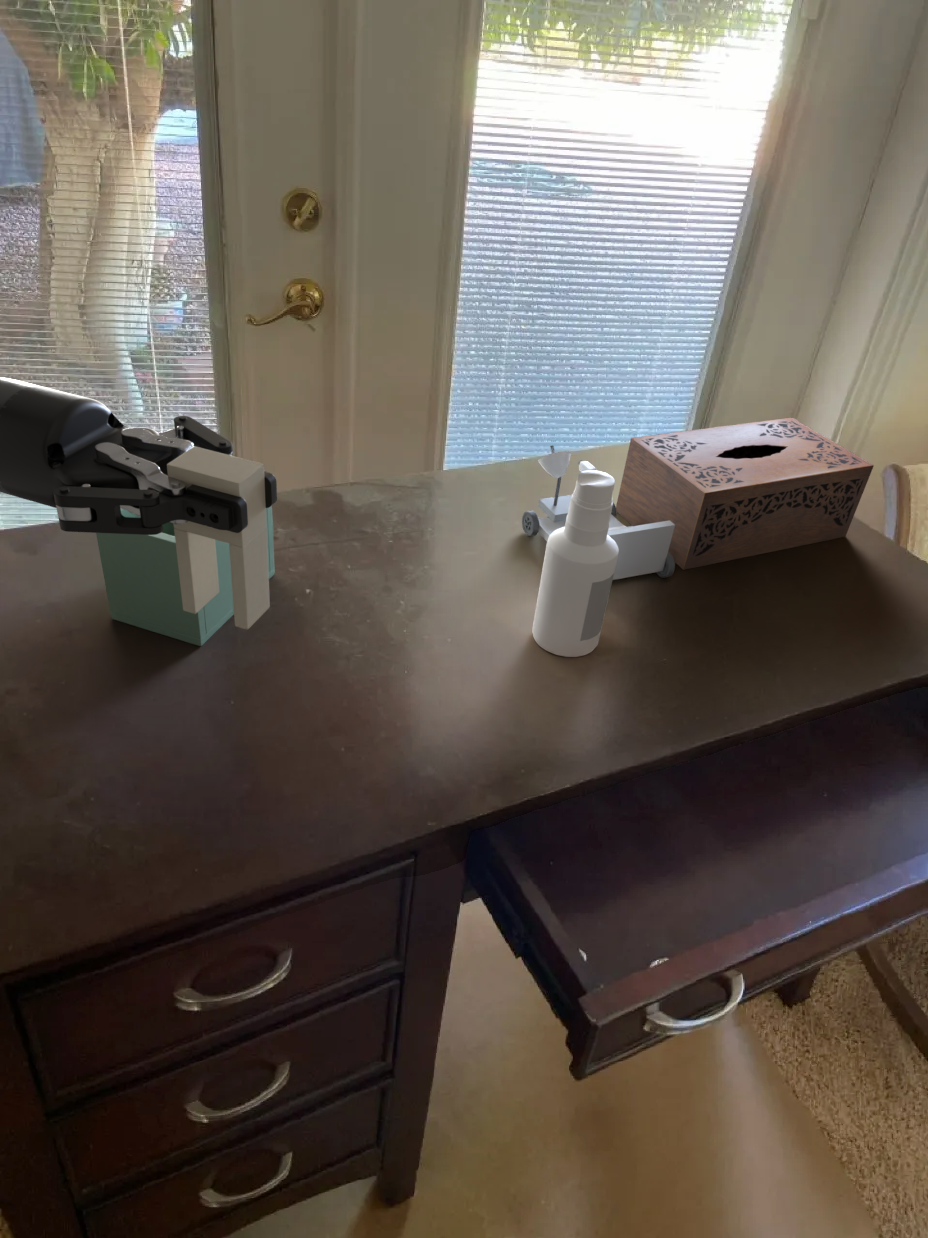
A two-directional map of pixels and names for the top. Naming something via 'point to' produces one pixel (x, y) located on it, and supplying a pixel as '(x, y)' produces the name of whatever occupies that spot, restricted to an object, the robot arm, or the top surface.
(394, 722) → the top surface
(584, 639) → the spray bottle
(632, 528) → the toy car
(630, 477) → the tissue box cover
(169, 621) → the bin
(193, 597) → the clip
